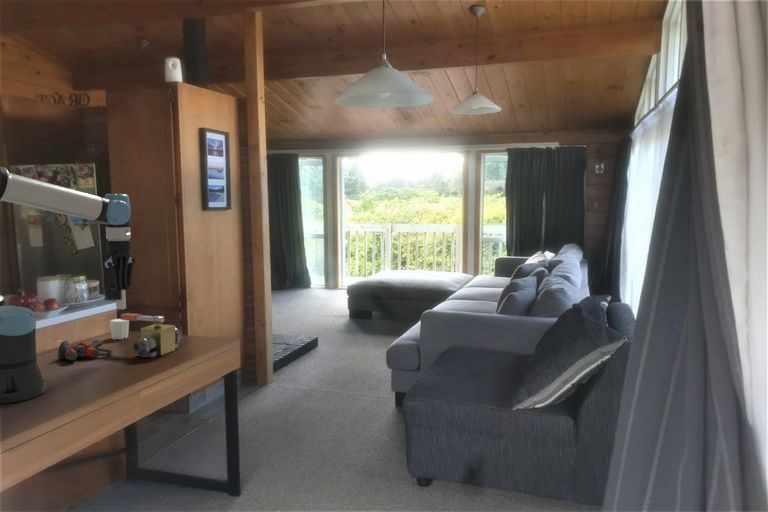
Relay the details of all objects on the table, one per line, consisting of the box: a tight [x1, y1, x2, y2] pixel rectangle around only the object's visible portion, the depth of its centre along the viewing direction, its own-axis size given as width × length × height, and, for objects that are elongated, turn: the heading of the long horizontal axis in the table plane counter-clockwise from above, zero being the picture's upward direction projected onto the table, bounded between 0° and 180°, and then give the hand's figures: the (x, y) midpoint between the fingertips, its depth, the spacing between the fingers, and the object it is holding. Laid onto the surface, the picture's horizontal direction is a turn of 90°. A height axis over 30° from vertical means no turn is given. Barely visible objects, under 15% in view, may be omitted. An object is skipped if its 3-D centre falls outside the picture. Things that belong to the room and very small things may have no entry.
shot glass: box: [109, 318, 130, 340], centre depth 214 cm, size 7×7×7 cm
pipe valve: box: [132, 322, 182, 359], centre depth 195 cm, size 18×8×11 cm, turn 165°
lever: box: [120, 312, 165, 324], centre depth 196 cm, size 16×4×2 cm, turn 75°
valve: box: [57, 338, 113, 362], centre depth 192 cm, size 6×26×15 cm
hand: (121, 308), depth 190 cm, fingers closed
